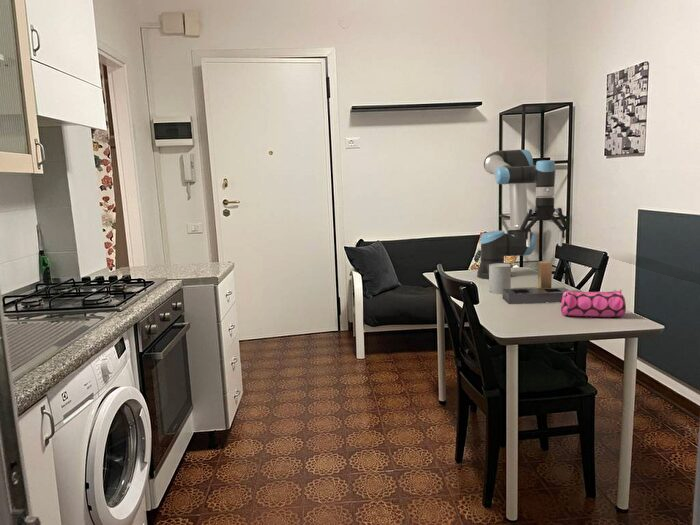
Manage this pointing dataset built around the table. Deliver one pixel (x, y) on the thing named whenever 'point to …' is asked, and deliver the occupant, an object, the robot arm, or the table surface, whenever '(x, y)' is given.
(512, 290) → the gray slotted block
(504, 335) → the table surface
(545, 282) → the brass peg
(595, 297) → the pencil case
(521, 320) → the table surface
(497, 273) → the gray cylinder
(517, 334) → the table surface
